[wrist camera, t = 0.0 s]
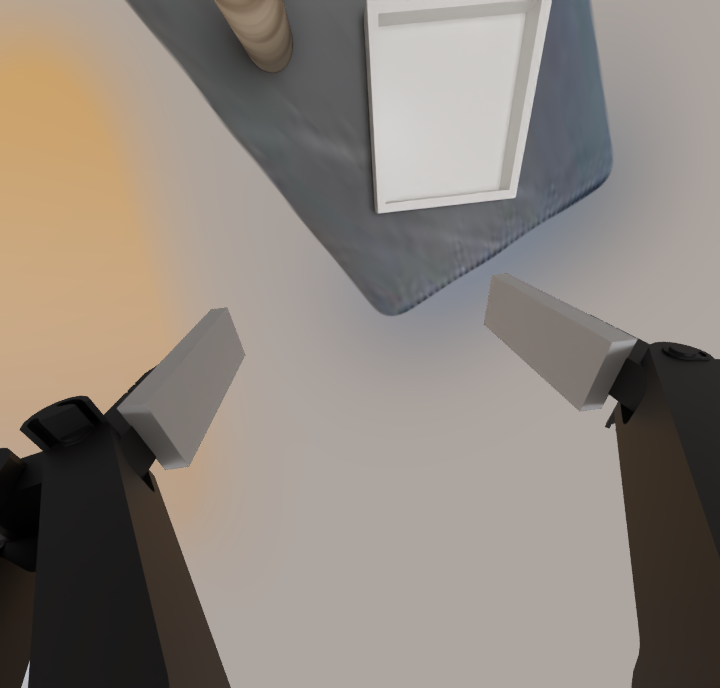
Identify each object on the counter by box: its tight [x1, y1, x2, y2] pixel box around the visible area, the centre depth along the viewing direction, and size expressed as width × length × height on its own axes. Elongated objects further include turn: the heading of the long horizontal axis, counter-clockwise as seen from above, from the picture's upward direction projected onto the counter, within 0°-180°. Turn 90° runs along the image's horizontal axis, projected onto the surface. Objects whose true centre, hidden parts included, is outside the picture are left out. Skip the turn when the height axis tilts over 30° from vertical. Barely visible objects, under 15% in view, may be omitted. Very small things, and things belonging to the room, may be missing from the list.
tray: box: [363, 0, 552, 213], centre depth 31 cm, size 18×18×3 cm
